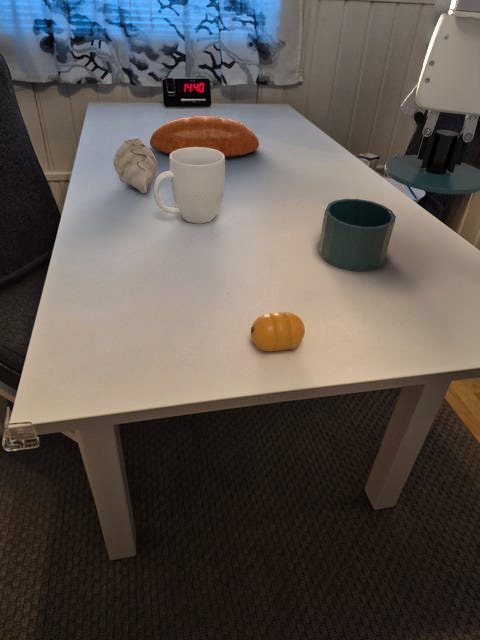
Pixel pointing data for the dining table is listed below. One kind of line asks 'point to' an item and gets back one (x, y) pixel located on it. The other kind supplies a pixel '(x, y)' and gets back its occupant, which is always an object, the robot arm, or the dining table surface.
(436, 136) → the lid
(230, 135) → the bread
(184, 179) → the mug
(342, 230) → the pot
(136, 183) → the seashell
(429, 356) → the dining table surface
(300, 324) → the orange ribbed oval piece
